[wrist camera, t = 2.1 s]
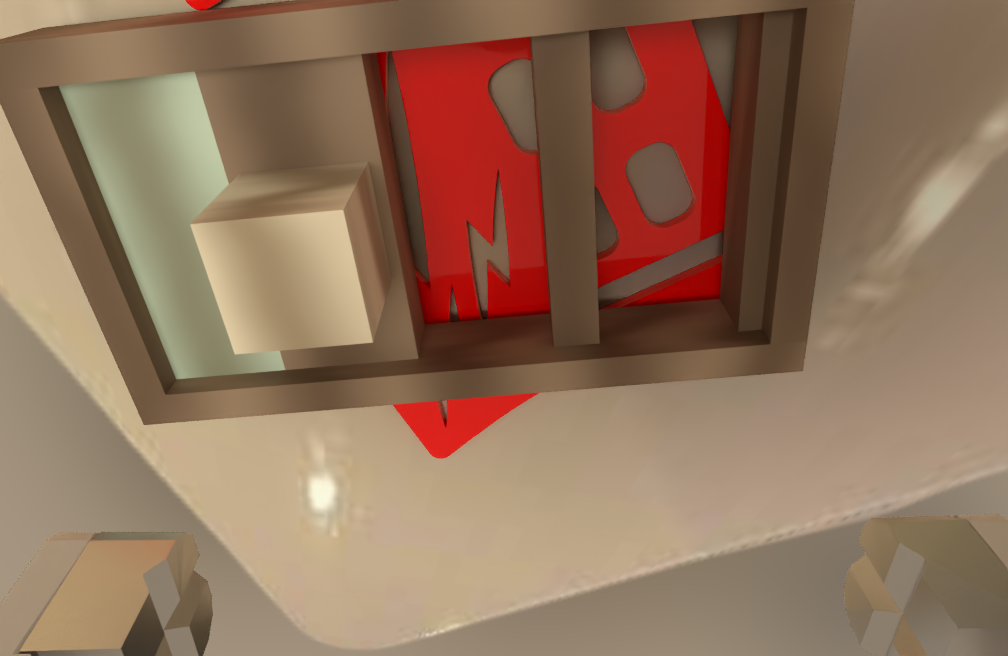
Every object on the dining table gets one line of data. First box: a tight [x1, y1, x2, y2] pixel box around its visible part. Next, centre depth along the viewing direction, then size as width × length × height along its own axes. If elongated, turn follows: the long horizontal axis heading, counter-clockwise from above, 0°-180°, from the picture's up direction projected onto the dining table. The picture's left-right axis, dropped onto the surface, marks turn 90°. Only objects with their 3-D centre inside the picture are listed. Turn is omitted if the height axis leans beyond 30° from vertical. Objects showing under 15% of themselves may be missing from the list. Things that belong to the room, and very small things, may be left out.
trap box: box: [0, 0, 855, 425], centre depth 29 cm, size 29×16×4 cm, turn 96°
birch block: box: [190, 162, 391, 354], centre depth 26 cm, size 5×5×5 cm
